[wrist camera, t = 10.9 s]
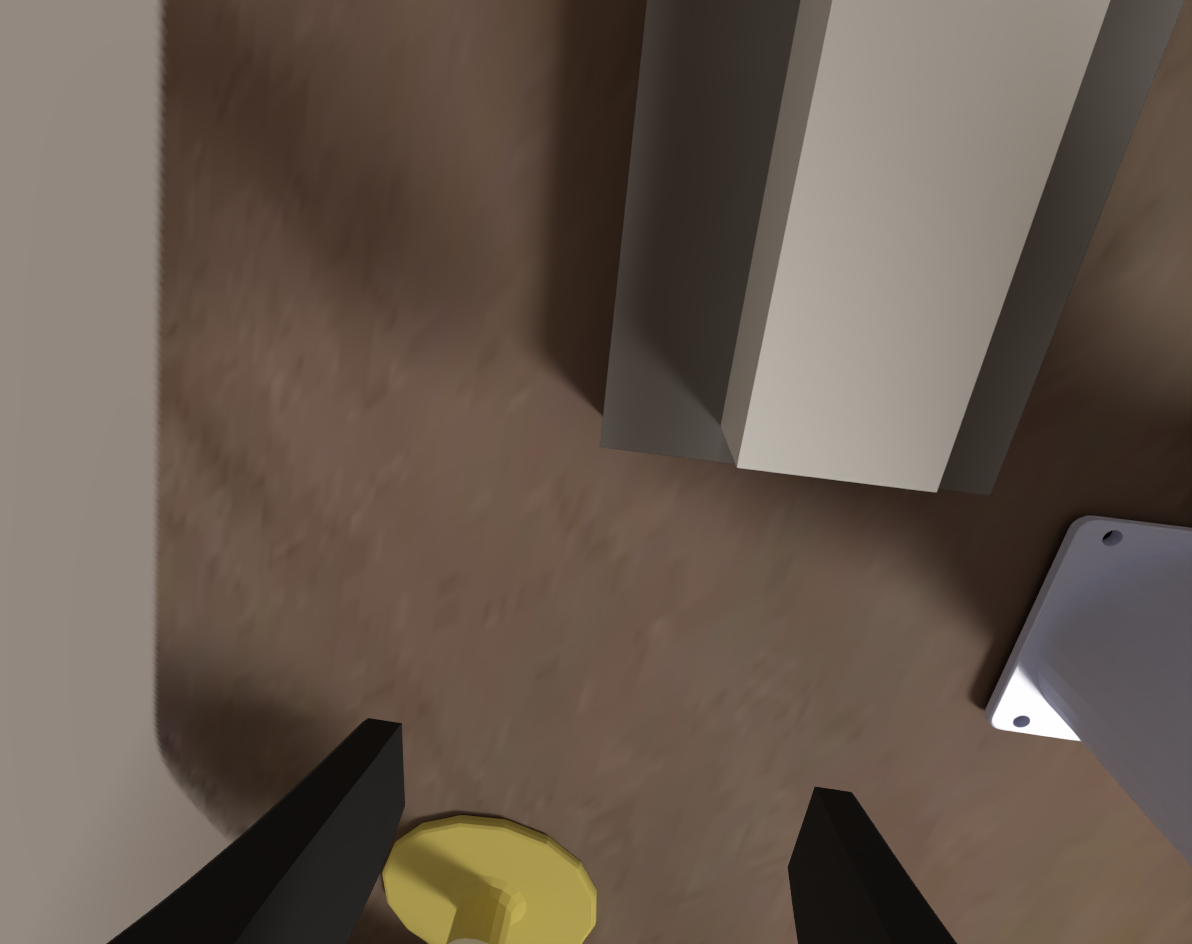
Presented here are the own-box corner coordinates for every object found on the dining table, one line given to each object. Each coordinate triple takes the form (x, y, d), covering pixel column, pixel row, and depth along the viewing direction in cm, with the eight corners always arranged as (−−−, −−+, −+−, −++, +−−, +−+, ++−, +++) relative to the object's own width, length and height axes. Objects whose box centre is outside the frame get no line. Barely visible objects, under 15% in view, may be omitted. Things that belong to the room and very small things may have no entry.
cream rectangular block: (997, -124, 12) (1253, -405, 7) (848, 417, 16) (936, 492, 11) (807, -137, 12) (918, -417, 7) (711, 401, 17) (736, 467, 12)
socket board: (1167, -181, 11) (1298, -291, 9) (943, 461, 17) (989, 495, 14) (675, -211, 12) (680, -322, 10) (607, 420, 17) (599, 447, 15)
